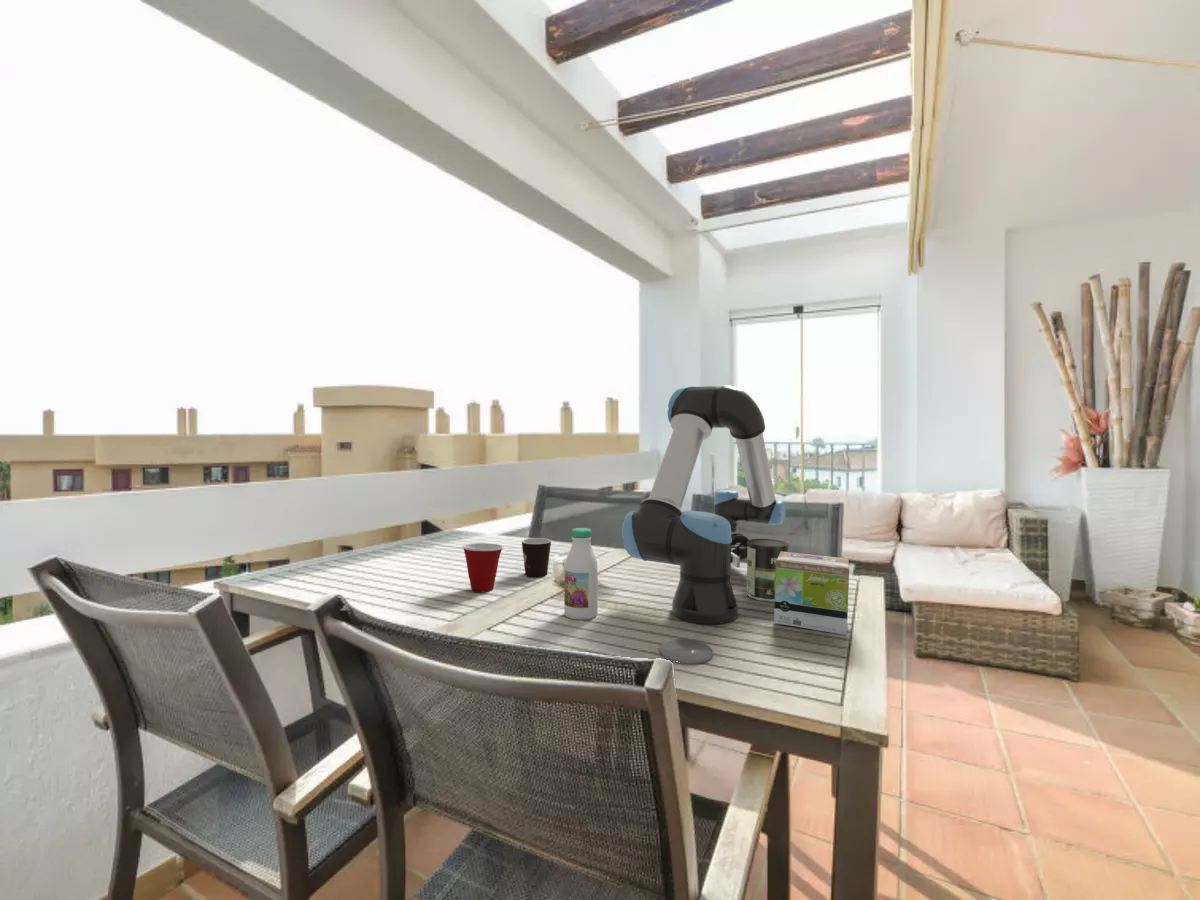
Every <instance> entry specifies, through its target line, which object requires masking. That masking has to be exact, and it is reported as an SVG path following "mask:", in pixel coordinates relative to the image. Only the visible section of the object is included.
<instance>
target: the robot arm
mask: <svg viewBox="0 0 1200 900" xmlns="http://www.w3.org/2000/svg"><path fill="white" fill-rule="evenodd" d="M668 400H669V401H668V404H667V407H668V410H667V420H668V422H669V423H670V427H671V429H672V434H671V436H670V439H669V441H668V444H667V447H666V449H665V452H664V455H663V458H662V461H661V463H660V466H659V469H658V472H657V475H656V477H655V480H654V482H653V485H652V489H651V491H650V493H649V496H648V498H645V499H643V500H642V501H641V502H640V504H639V507H638V509H637V511H636V510H633V511H629V512H628V513H627V514H626V515H625V517H624V520H623V522H622V528H621V534H622V535H621V537H622V542H623V543H622V544H623V546H624V550H625V552H626V553H627V554H628V555H629V556H630V557H631V558H634V559H638V560H642V561H645V562H647V561H649V562H655V563H660V564H661V563H663V564H669V565H673V566H674V565H675V566H679V569H680V570H679V581H678V584H677V586H676V589H675V592H674V595H673V599H672V603H671V607H672V608H671V612H672V614H673V616H675V617H677V618H679V619H681V620H682V621H683V620H684V621H687V622H690V623H694V624H695V623H697V624H703V625H704V624H705V625H718V624H719V625H720V624H726V623H730V622H734V621H735V620H736V619H737V618H738V613H739V612H738V611H739V605H738V603H737V602H738V601H737V599H736V596H735V592H734V590H733V586H732V583H731V577H732V576H731V574H732V573H731V570H732V567H731V565H733V566H734V567H735V568H740V567H741V561H742V560H745V559H747V549H748V544H747V541H748V540H750V539H749V538H748V537H747V536H746V535H743V534H742V533H739V532H738V526H739V525H738V523H739V522H743V523H744V522H745V523H751V524H752V523H753V524H763V525H768V526H771V525H774V526H777V525H778V526H780V525H782V524H783V523H784V522H785V518H786V504H785V503H784V501H783V500H780V499H776V496H775V490H774V485H773V481H772V475H771V471H770V469H771V468H770V463H769V459H768V455H767V448H766V444H765V440H764V432H765V430H766V423H765V419H764V416H763V413H762V411H761V410H760V408H759V406H758V404H757V403H756V402H755V400H753V398H752V397H751V396H750V395H749V394H748V393H746V391H744V390H742V389H741V388H738V387H737V386H732V385H728V384H727V385H715V386H714V385H712V386H711V385H710V386H687V387H681V388H678V389H676V390H674V392H673V393H672V394H671V396H670V399H668ZM715 428H716V429H717V428H718V429H719V428H720V429H721V428H722V429H724V428H726V429H728V430H729V433H730V436H731V437H732V438H733V439H735V442H736V446H737V447H736V448H737V451H738V455H739V458H740V463H741V469H742V473H743V476H744V480H745V485H746V488H747V492H748V497H740V496H739V492H738V491H737V490H730V489H719V490H716V491H715V493H714V501H713V502H714V503H713V513H711V512H708V511H702V510H701V511H700V510H699V511H697V510H685V511H683V510H682V507H683V506H682V505H683V503H684V501H685V500H684V499H685V497H686V494H687V491H688V488H689V484H690V481H691V477H692V475H693V472H694V469H695V466H696V464H697V459H698V457H699V454H700V451H701V447H702V444H703V441H704V440H706V439H708V438H709V437H710V436H711V434H712V431H713V429H715Z"/></svg>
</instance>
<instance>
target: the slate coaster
mask: <svg viewBox="0 0 1200 900" xmlns="http://www.w3.org/2000/svg"><path fill="white" fill-rule="evenodd" d="M659 652H660V656H662V658H664V659H666V660H667V659H669V660H668V661H670V660H671V661H670V662H672V663H673V661H675V662H674V663H676V661H678V662H680V663H679V664H681V663H683V665H699V664H698V663H700V664H703V663H706V661H707V662H709V661H711V660H712V658H713V654H714V653H713V648H712V647H711V646H710V645H708V644H707V643H705V642H702V641H700V640H695V639H690V638H676V639H675V638H674V639H670V640H666V641H664V642H663V643H661V645H660V647H659Z"/></svg>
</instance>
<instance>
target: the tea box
mask: <svg viewBox="0 0 1200 900" xmlns="http://www.w3.org/2000/svg"><path fill="white" fill-rule="evenodd" d="M849 562H850V561H849V558H847V557H846V558H845V557H838V556H837V557H835V556H828V555H817V554H808V553H801V552H798V553H797V552H789V551H788V552H782V551H781V552H780V554H779V556H778V558H777V560H776V572H775V597H774V602H773V623H774V625H782V626H783V625H784V626H790V627H797V628H802V629H808V630H813V631H820V632H826V633H831V634H835V635H836V634H837V635H842V636H846V634H847V630H848V615H849V613H848V612H849V590H850V589H849V586H850V563H849Z"/></svg>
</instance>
